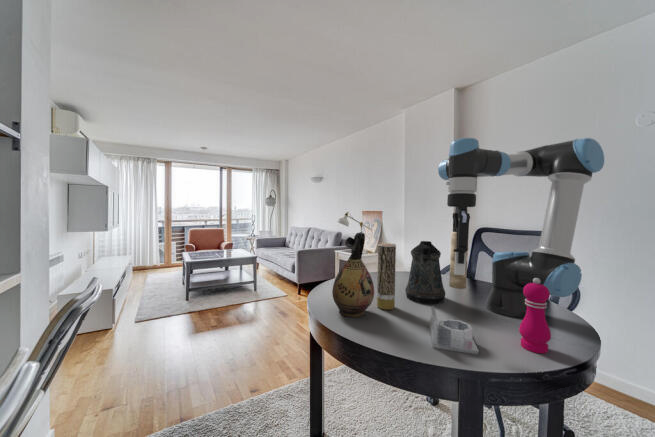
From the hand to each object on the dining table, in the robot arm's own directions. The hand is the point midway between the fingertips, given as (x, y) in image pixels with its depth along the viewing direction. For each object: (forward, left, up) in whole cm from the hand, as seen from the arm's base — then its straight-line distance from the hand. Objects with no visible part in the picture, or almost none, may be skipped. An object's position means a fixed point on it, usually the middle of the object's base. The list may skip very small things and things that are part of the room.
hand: (458, 272), depth 82 cm
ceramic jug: (+34, -13, -21) cm, 41 cm away
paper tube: (+23, -22, -21) cm, 38 cm away
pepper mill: (-20, -2, -21) cm, 29 cm away
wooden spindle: (0, 0, -4) cm, 4 cm away
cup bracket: (+1, +1, -20) cm, 20 cm away
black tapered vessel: (+7, -38, -21) cm, 44 cm away
